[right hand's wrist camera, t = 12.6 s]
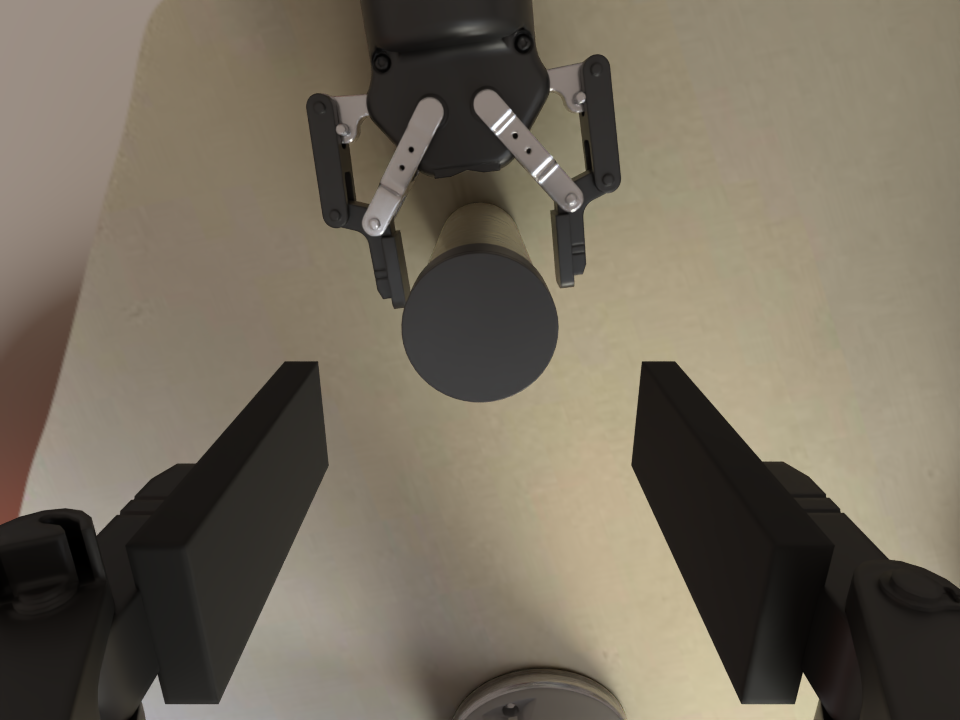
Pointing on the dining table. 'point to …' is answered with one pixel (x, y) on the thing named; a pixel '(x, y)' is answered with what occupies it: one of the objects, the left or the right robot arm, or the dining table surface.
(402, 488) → the dining table surface
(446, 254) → the lid
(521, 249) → the silver metal cylinder
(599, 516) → the dining table surface
